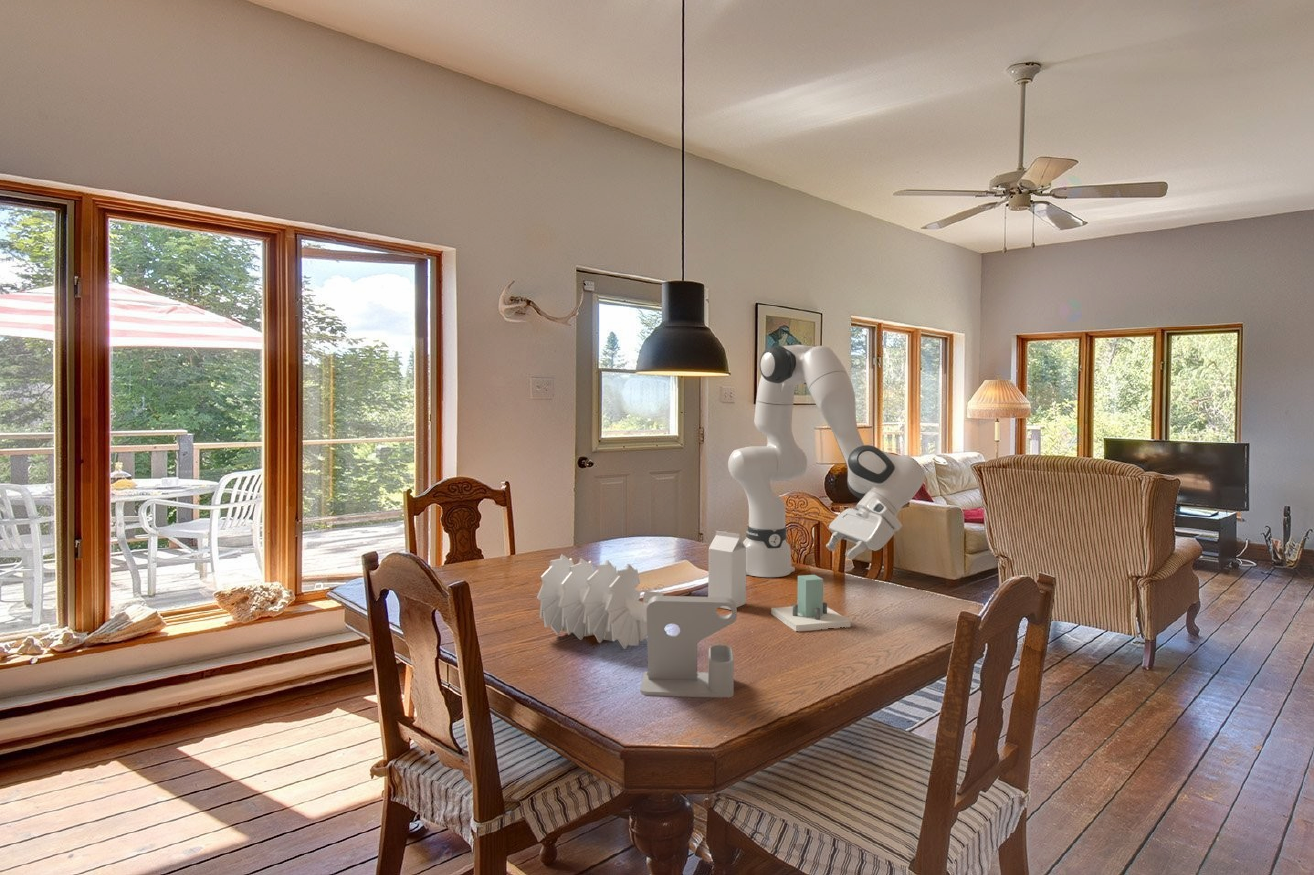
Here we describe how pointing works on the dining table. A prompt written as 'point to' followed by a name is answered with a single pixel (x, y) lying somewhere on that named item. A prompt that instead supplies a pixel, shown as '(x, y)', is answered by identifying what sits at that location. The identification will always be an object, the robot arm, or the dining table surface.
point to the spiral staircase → (594, 601)
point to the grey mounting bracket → (687, 647)
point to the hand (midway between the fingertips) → (838, 553)
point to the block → (809, 595)
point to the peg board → (810, 618)
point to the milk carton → (727, 568)
